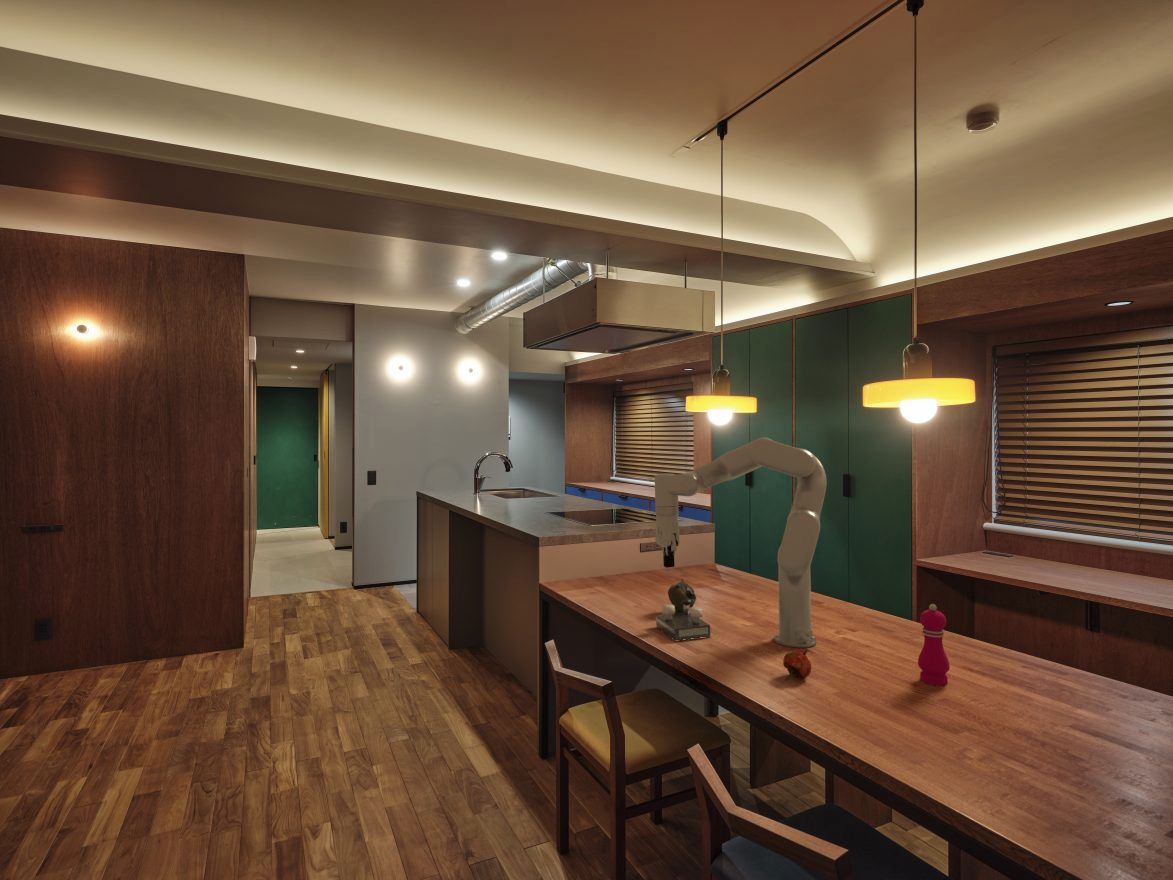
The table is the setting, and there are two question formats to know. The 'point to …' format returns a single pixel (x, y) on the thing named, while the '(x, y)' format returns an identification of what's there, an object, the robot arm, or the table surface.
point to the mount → (682, 627)
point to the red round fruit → (797, 664)
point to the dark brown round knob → (686, 605)
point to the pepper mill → (933, 648)
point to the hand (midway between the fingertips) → (669, 566)
